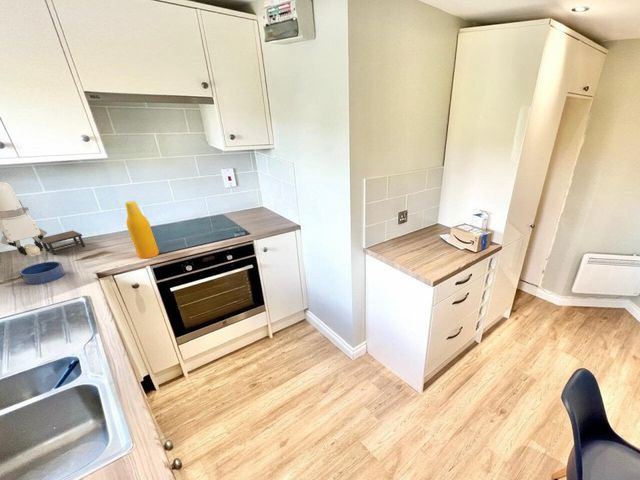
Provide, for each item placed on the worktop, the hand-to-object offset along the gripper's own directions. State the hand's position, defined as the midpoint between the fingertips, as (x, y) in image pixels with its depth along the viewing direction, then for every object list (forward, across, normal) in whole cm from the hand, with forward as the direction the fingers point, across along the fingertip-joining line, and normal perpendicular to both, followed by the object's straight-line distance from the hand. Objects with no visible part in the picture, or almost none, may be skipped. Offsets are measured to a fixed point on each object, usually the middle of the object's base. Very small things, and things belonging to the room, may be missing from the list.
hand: (32, 252), depth 142 cm
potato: (+1, 0, 0) cm, 1 cm away
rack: (+13, -17, -25) cm, 33 cm away
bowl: (+13, 0, 0) cm, 13 cm away
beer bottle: (+13, -37, +13) cm, 41 cm away
